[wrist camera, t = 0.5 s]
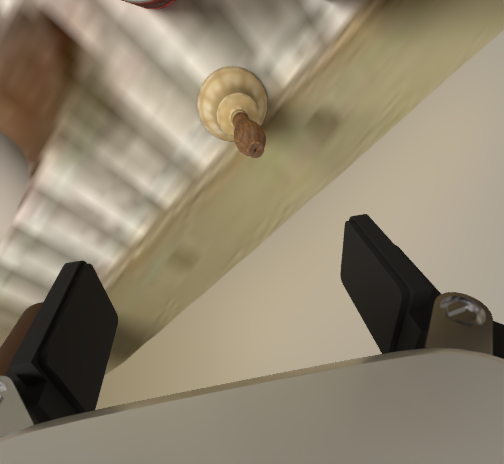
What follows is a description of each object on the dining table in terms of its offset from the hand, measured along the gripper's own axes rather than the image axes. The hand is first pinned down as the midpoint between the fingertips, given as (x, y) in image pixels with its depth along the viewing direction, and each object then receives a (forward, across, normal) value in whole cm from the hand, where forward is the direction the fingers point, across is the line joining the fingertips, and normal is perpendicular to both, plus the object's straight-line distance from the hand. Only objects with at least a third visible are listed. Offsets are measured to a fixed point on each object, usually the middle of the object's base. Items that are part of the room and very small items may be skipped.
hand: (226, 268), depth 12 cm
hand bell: (+30, -3, +1) cm, 30 cm away
